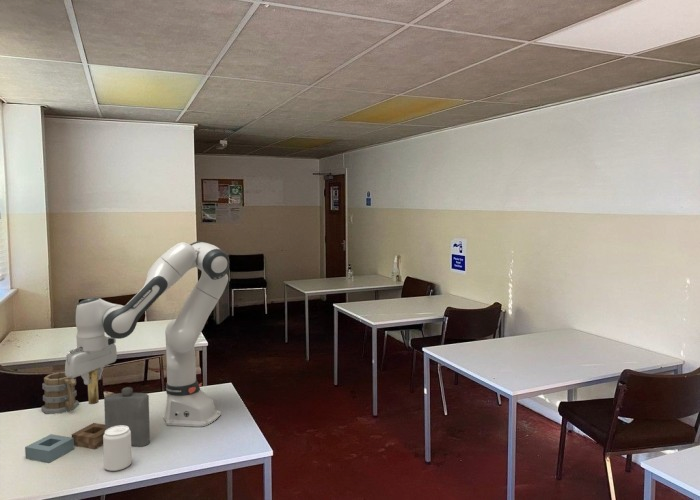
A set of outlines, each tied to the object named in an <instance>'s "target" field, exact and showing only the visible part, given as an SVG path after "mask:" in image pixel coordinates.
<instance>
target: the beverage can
mask: <svg viewBox="0 0 700 500" xmlns="http://www.w3.org/2000/svg"><path fill="white" fill-rule="evenodd" d="M102 446H103V468H104V469H105V470H107V471H111V472H113V471H114V472H117V471H120V470H124V469H126V468H128V467H129V466H130V465H131V464H132V462H133V461H132V460H133V459H132V446H131V431H130V429H129V427H128V426H124V425H119V426H114V427H111V428H108V429H107V430H106V431H105V434H104V435H103V445H102Z"/></svg>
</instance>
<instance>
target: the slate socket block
mask: <svg viewBox="0 0 700 500" xmlns="http://www.w3.org/2000/svg"><path fill="white" fill-rule="evenodd" d="M73 450H75V446H74V438H72V436H66V435H57V434H52V433H50V434H49V435H47V436H45V437H42V438H41V439H39V440H37V441H35V442H32V443H30V444H28V445H26V446H25V447H24V455H25V457H24V458H25V459H26V460H31V461H37V462H41V463H48V464H50V463H52V462H53V461H56V460H57V459H58V458H59V459H60V458H62V457H63V456H64V455H66V454H68V453H70V452H71V451H73Z"/></svg>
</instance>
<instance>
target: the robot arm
mask: <svg viewBox="0 0 700 500" xmlns="http://www.w3.org/2000/svg"><path fill="white" fill-rule="evenodd" d="M229 267H230V258H229V255H228V254H227V252H225V251H224V250H223V249H221V248H219V247H218V246H216V245H214V244H211V243H209V242H207V241H205V240H204V241H202V240H199V241H194V242H192V243H188V242H184V241H180V242H178V243H177V244H175V245H173V246H171V248H169V249H168V250H166V251H165V252H164V253H163V254H161V256H159V257H158V258H157V259H156V260H155V261H154V263H153V264H152V265H151V266H150V267H149V269H148V271H147V274H146V279H145V283H144V285H143V286H142V288H140V290H139V291H138V292H137V293H136V294H135V295H134V296H133V297H132V298H131V299H130V300H129V301H128V302H127V303H126V304H125V305H122V304H118V303H112V302H109V301H106V300H104V299H102V298H100V297H98V296H97V297H91V298H90V297H89V298H85V299H83V300H81V301H80V302H79V303H78V304H77V305H76V309H75V326H76V329H77V330H76V331H77V332H76V348H75V349H70V350H69V352H68V353H67V354H66V357H65V366H64V372H65V375H66V376H67V377H71V378H74V379H76V378H77V377H81V378H82V380H83V384H84V385H86V386H88V384H90V383H91V379H90V378H88V376H87V375H89V372H90V371H93V370H95V369H97V376H98V381H99V380H100V381H101V380H102V374H103V372H104V367H105V366H108V365H109V364H113V363H115V362H116V361H117V359H118V358H117V357H118V354H117V353H118V351H117V345H116V341H117V339H124V338H127V337H129V336H130V335H131V334H133V332H134V330H135V329H136V327H137V324H138V323H139V320H140V318H141V317H142V316H143V314H145V312H146V311H148V309H149V308H150V307H151V306H152V305H153V304H154V303H155V302H156V301H157V300H158V299H159V298H160V296H162V295H163V294H164V293H166V292H167V291H168V290H169V289H170V288H171V287H172V286H175V284H176V283H178V281H180V279H182V278H183V277H184V276H185V274H186V273H188V272H189V271H190V270H192V269H195V268H196V269H198V270H200V271H201V274H200V278H199V280H198V281H197V282H196V284H195V285H194V287H193V289H192V290H191V291H190V293H189V294H188V296H187V298H186V299H185V301H184V302H183V305H182V307H181V309H180V312H179V313H178V315H177V317H176V318H173V319H172V320H171V321H170V322H169V323H168V324H167V325H166V327H165V353H166V355H165V356H166V381H167V382H166V383H165V391H166V405H165V410H164V415H163V420H164V421H165V425H166V426H179V427H180V426H181V427H202V428H203V427H205V426H209V425H211V424H212V422H213V421H214V422H216V421H217V420H218V419H219V418H220V417H221V416H222V411H220V410H217V409H216V407H215V402H214V400H213V398H211V397H210V396H208V395H207V394H206V393H205V392H203V390H201V388H200V387H201V386H203V385H202V384H203V382H200V383H199V382H198V380H197V368H196V367H197V365H196V364H197V361H196V351H195V349H196V348H195V345H196V342H197V341H198V338H199V337H200V335H201V333H202V331H203V329H204V328H205V325H206V323H207V320H208V319H209V316H210V315H211V313H212V311H213V310H214V309H215V307H216V305H217V303H218V302H219V300H220V299H221V297H222V295H223V293H224V292H225V289H226V286H227V285H228V281H229V276H228V274H227V273H228V270H229ZM105 334H106V336H105ZM220 415H221V416H220ZM219 416H220V417H219ZM218 417H219V418H218ZM217 418H218V419H217ZM216 419H217V420H216ZM215 420H216V421H215ZM214 422H213V423H214ZM210 423H211V424H210ZM208 424H209V425H208Z"/></svg>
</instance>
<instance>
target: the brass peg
mask: <svg viewBox="0 0 700 500" xmlns="http://www.w3.org/2000/svg"><path fill="white" fill-rule="evenodd" d="M87 376H88V378H90V379H91V383H90V384H88V385H87V397H88V399H87V400H88V404H89V405H96V404H99V380H98V376H97V369H95V370H93V371H90V372H89V375H87Z"/></svg>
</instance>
